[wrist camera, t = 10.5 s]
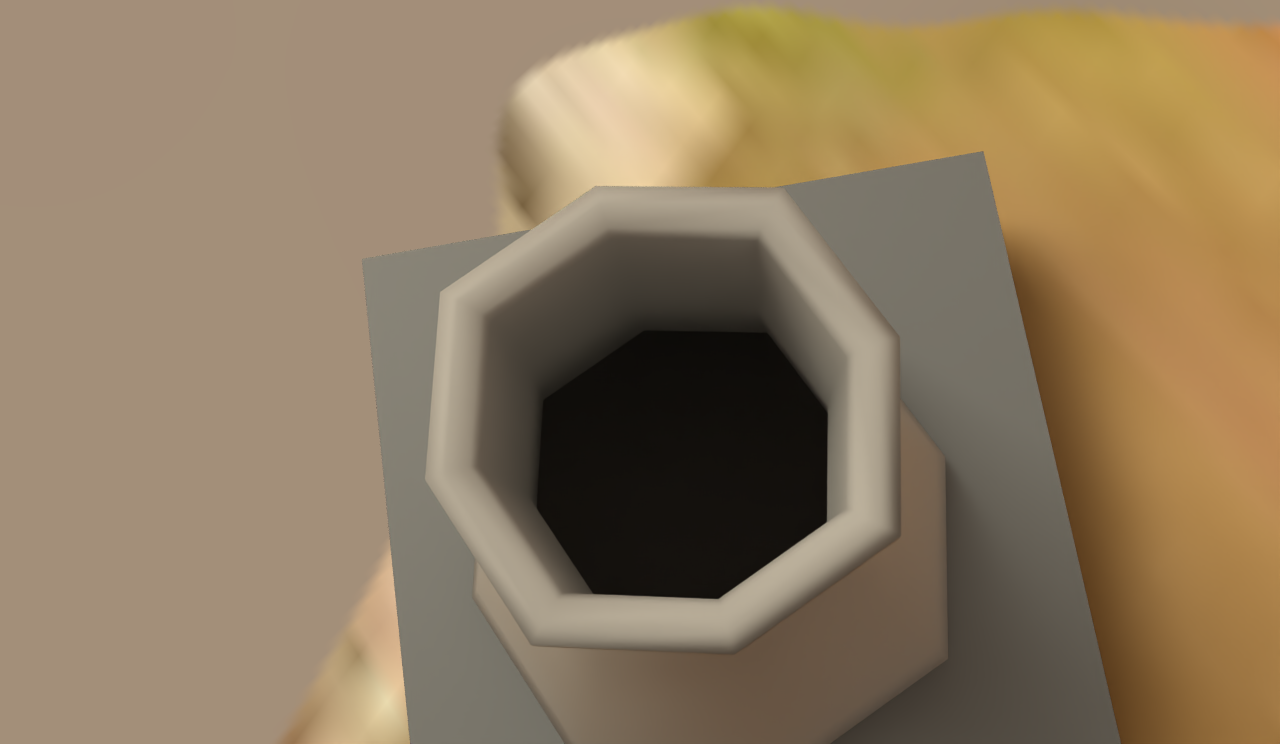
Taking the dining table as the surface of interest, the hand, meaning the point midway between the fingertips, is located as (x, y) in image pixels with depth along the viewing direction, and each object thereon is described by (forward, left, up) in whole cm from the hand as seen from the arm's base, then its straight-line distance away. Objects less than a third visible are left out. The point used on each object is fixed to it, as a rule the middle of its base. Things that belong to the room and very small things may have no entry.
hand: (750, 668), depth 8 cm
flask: (+2, 0, -9) cm, 9 cm away
